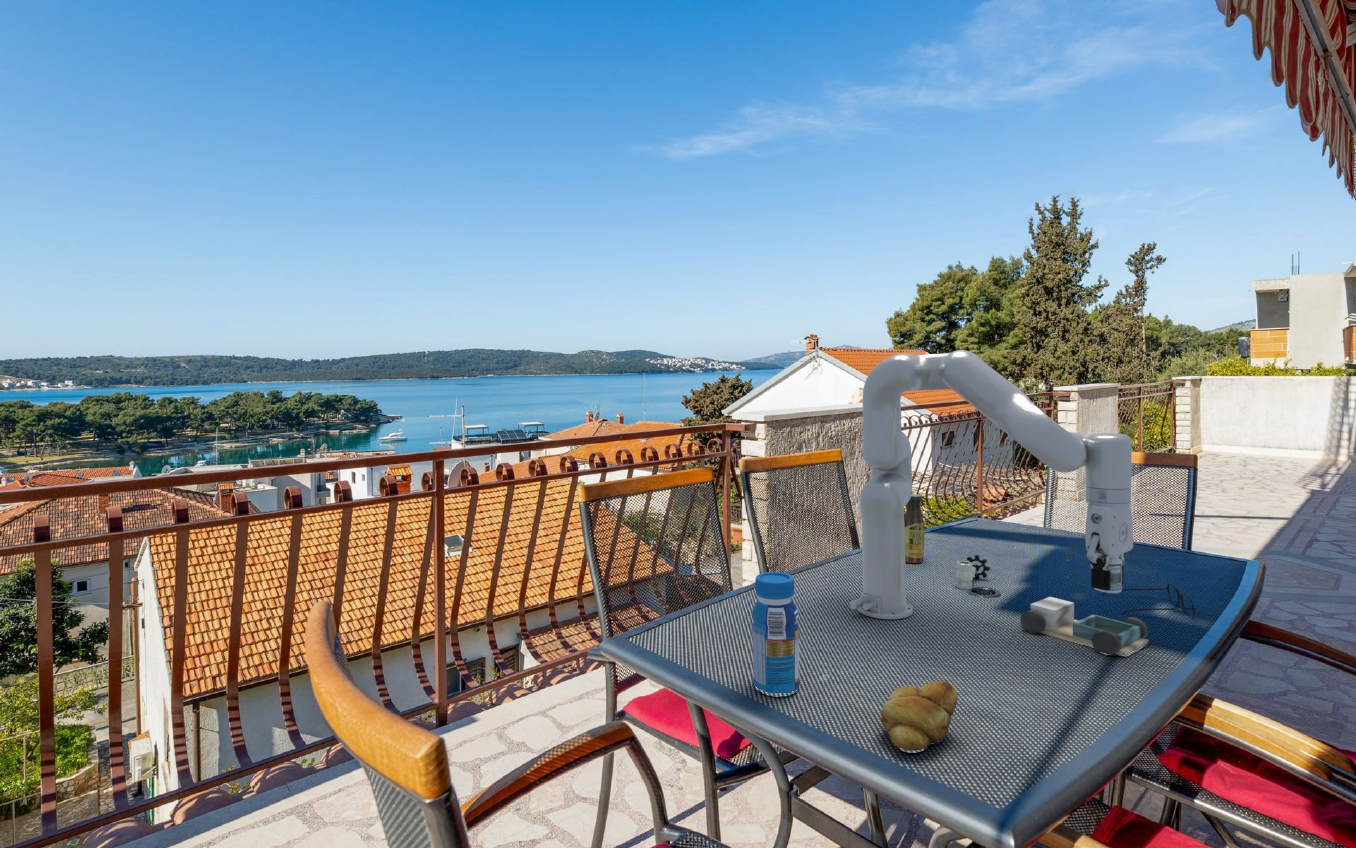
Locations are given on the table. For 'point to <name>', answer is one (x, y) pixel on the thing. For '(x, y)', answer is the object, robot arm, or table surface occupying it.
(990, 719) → the table surface
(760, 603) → the beverage bottle
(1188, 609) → the glasses
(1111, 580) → the pill bottle
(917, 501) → the sauce bottle
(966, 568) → the valve
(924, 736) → the bread roll
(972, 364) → the robot arm
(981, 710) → the table surface
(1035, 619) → the toy car chassis
